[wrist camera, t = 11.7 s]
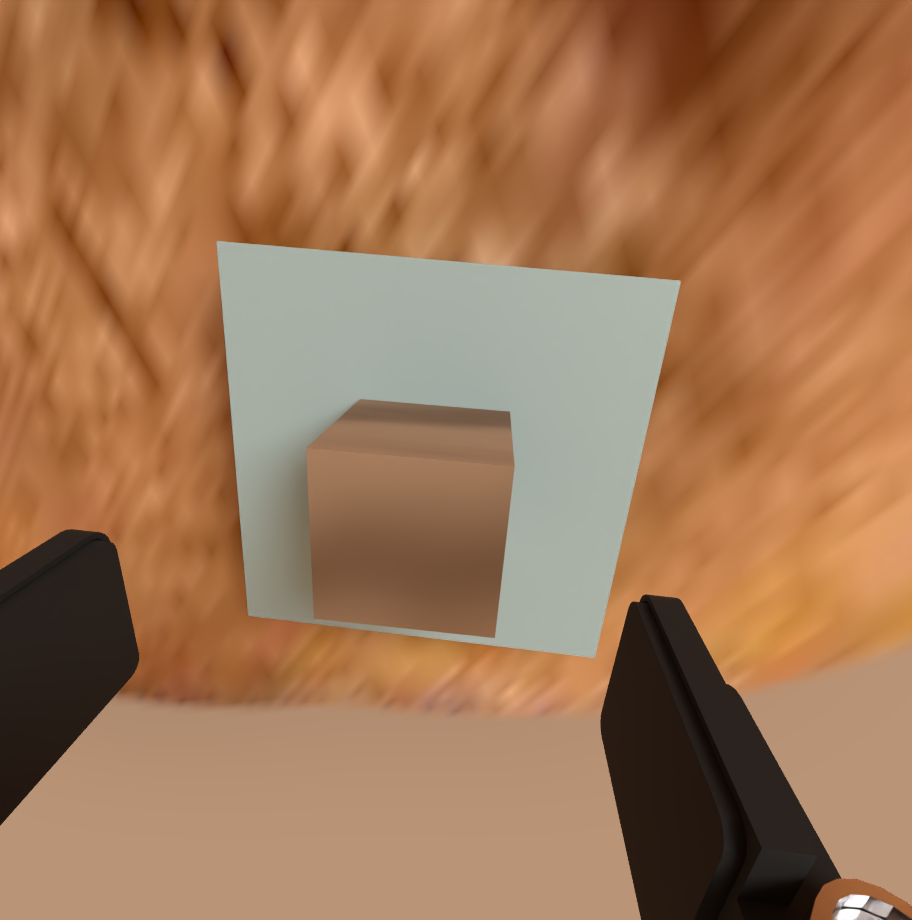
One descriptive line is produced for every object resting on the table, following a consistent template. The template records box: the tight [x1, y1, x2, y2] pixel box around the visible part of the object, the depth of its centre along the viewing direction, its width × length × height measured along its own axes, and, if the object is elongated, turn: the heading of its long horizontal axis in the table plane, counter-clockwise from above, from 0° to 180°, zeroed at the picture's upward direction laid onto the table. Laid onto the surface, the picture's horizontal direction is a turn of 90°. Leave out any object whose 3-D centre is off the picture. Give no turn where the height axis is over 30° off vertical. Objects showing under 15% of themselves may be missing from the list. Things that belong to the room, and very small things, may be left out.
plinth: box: [217, 241, 681, 658], centre depth 19 cm, size 14×14×3 cm
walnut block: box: [306, 399, 515, 638], centre depth 15 cm, size 5×5×5 cm
